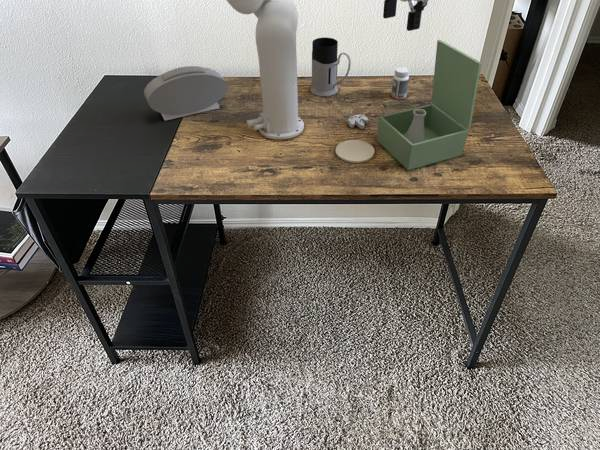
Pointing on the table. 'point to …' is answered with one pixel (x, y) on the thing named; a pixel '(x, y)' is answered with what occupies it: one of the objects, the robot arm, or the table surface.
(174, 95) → the alarm clock
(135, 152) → the table surface
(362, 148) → the coaster
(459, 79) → the box lid
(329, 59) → the glass holder
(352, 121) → the game controller
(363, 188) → the table surface
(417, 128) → the flask
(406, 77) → the pill bottle
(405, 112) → the box
